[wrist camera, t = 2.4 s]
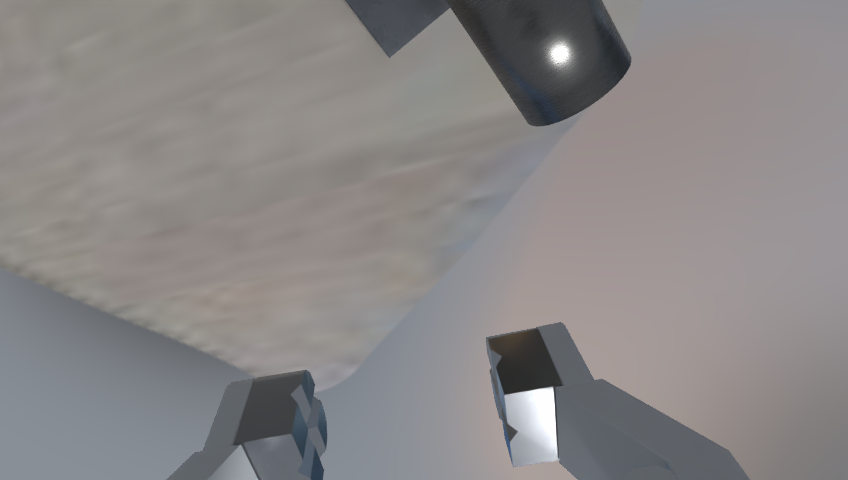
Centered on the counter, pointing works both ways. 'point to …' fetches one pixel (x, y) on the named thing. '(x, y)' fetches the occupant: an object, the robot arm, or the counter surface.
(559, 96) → the elbow
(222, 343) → the counter surface
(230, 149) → the counter surface
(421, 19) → the silver pedestal stand
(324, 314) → the counter surface
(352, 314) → the counter surface
